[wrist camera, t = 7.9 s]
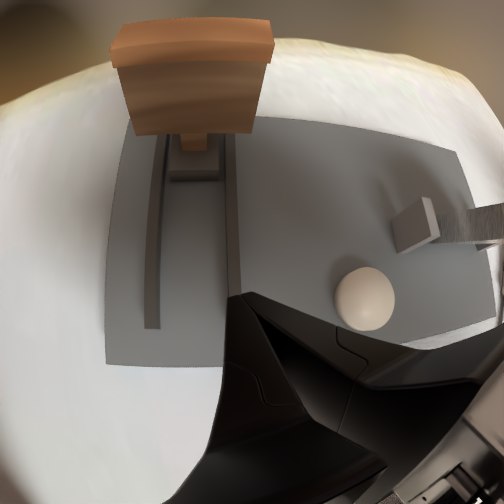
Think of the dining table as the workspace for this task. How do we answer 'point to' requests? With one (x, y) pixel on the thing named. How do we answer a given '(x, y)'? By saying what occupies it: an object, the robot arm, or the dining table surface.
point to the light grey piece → (472, 226)
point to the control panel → (288, 240)
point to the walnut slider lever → (193, 83)
